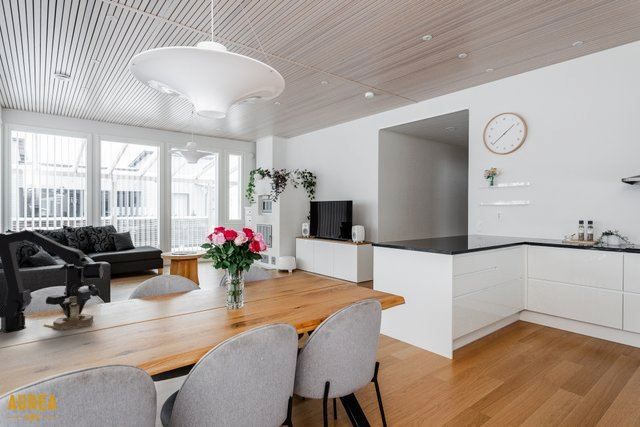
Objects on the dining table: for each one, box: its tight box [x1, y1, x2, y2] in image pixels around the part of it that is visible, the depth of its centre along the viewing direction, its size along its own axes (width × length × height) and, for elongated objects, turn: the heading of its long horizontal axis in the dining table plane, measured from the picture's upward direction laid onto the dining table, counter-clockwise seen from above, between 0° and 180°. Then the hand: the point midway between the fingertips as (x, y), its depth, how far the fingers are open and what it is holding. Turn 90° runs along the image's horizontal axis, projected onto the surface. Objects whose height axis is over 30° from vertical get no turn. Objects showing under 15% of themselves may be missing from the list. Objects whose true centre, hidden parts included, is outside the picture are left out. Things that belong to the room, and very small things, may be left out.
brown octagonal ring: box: [52, 313, 94, 331], centre depth 146 cm, size 13×13×2 cm
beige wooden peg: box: [69, 303, 79, 321], centre depth 146 cm, size 4×4×9 cm
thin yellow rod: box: [43, 323, 53, 328], centre depth 143 cm, size 1×7×1 cm, turn 67°
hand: (73, 316), depth 146 cm, fingers open, 4 cm apart
